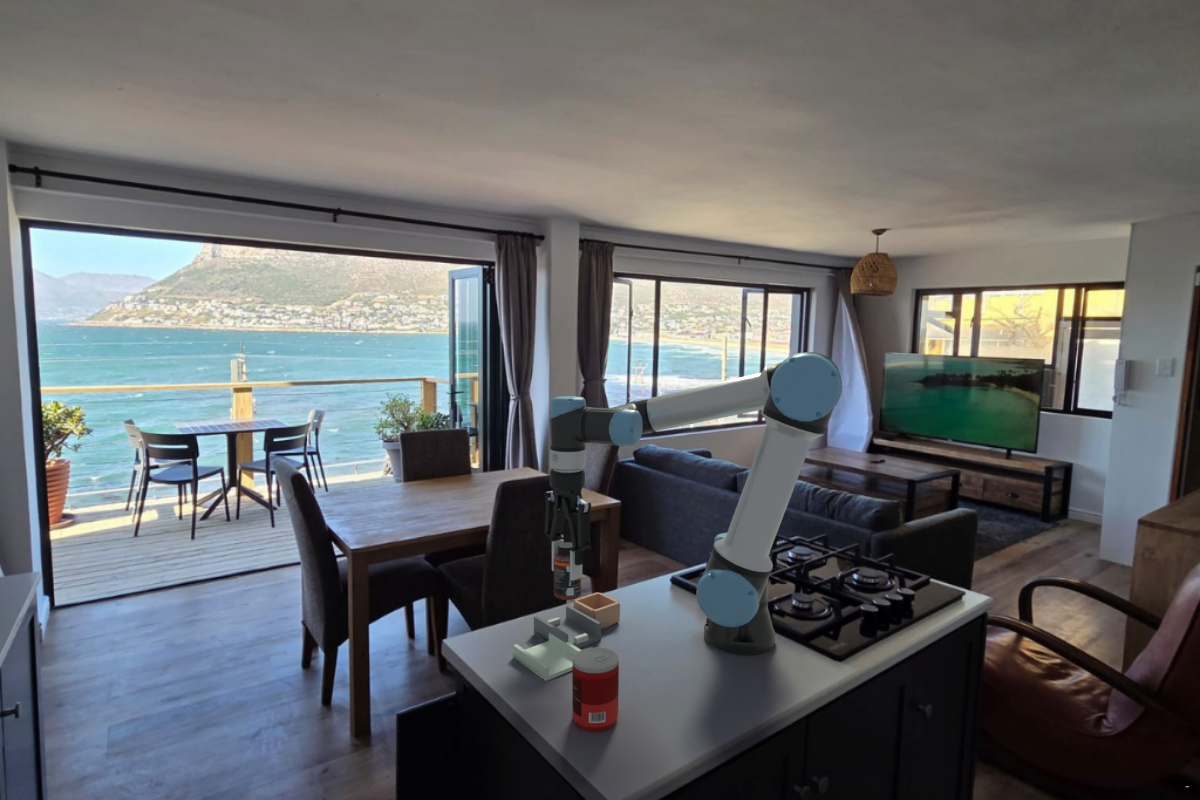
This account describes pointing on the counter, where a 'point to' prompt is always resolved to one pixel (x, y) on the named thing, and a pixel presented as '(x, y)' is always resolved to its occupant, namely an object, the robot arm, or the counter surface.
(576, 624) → the checker cradle
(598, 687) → the canned food
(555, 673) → the trough
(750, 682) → the counter surface
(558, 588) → the supplement bottle
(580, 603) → the open cardboard box
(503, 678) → the counter surface
